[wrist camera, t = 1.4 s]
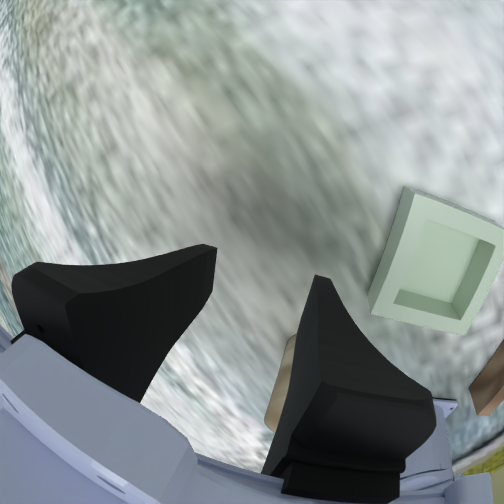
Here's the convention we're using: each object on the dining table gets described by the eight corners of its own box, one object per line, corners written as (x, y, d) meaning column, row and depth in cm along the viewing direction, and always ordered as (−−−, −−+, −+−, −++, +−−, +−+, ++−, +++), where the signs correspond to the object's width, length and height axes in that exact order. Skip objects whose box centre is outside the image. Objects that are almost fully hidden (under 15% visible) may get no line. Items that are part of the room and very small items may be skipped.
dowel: (323, 370, 24) (311, 442, 17) (281, 359, 25) (259, 429, 18) (337, 338, 22) (331, 415, 15) (292, 326, 23) (270, 401, 16)
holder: (453, 314, 19) (464, 335, 16) (367, 291, 20) (370, 313, 18) (493, 221, 15) (512, 234, 13) (403, 184, 17) (414, 193, 14)
